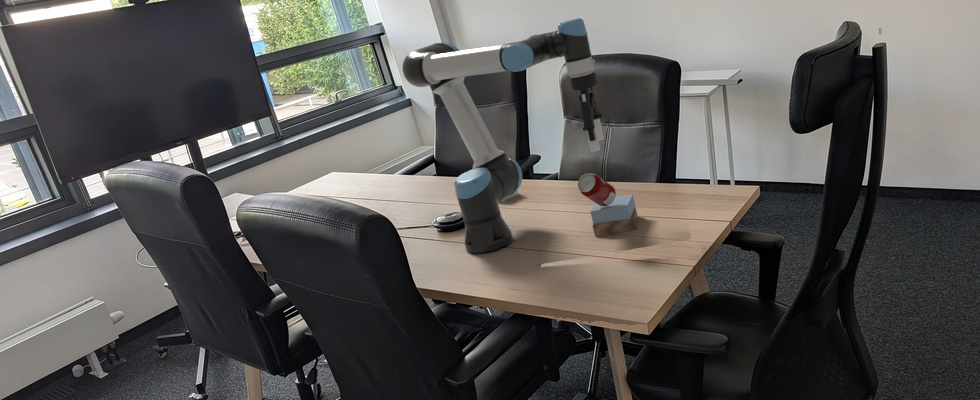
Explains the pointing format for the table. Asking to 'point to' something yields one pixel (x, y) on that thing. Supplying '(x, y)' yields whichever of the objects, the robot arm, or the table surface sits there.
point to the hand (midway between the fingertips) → (597, 145)
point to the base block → (616, 226)
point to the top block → (614, 210)
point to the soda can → (596, 189)
